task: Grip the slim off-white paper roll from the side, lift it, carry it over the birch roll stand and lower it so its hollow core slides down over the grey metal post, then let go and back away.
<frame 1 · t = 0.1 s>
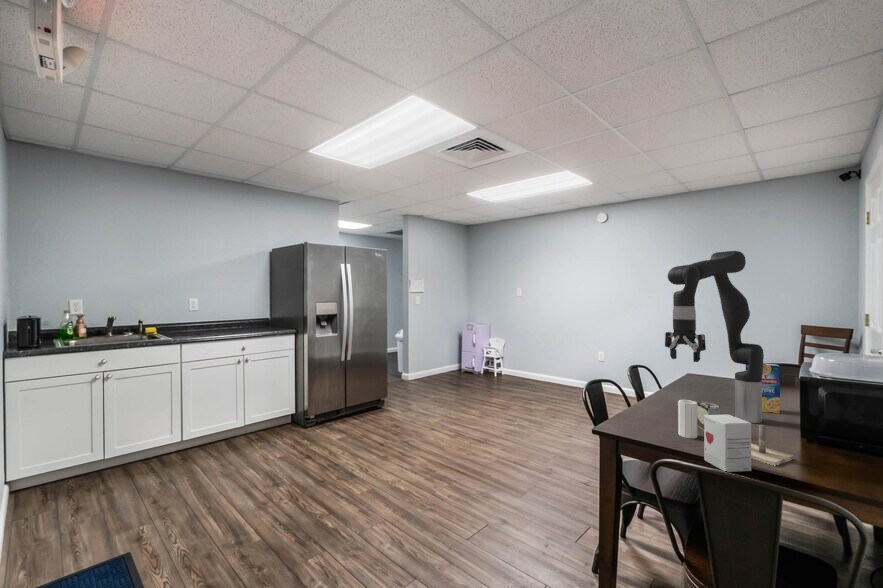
hand: (684, 360, 150), 29 cm above the table, tool pointing down, fingers open, 8 cm apart
food container: (710, 430, 157), on the table
supplement box: (727, 466, 123), on the table
stand: (762, 455, 131), on the table
roll: (687, 435, 150), on the table
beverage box: (762, 410, 184), on the table
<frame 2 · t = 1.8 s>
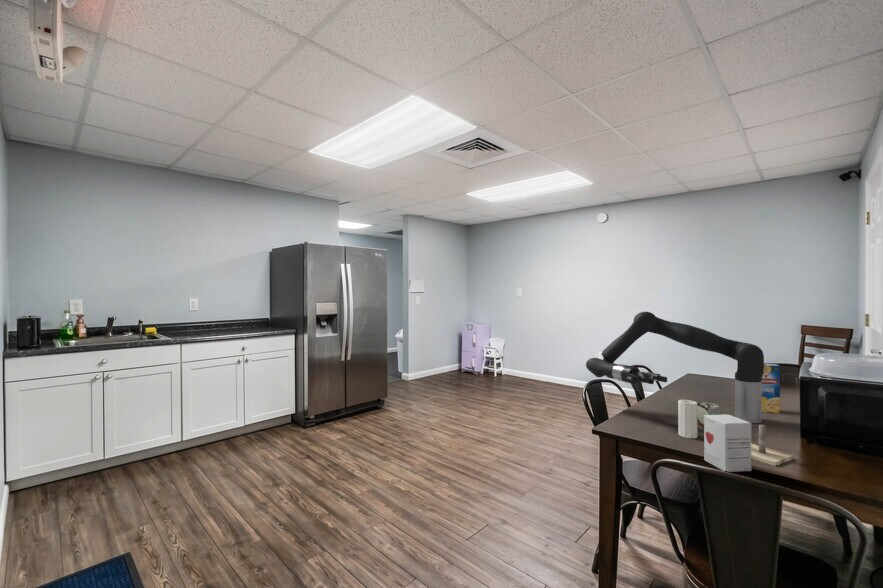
hand: (660, 380, 160), 19 cm above the table, tool horizontal, fingers open, 8 cm apart
nothing on the table moved.
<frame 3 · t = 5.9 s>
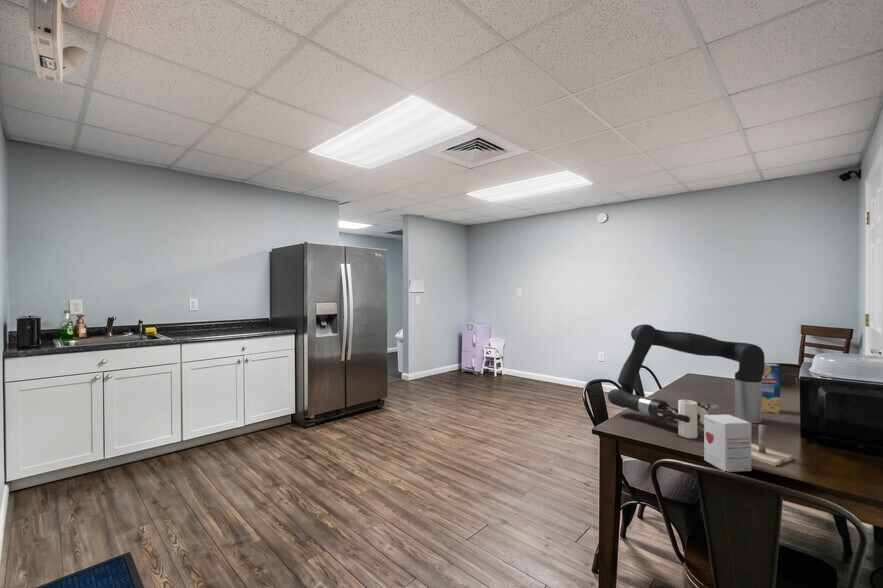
hand: (694, 418, 148), 7 cm above the table, tool horizontal, fingers closed on roll, 6 cm apart
roll: (687, 435, 150), on the table, touching gripper
everything else where it was.
when the fingers open (10 cm above the table, at t = 12.7 s): roll drops 1 cm, resting on stand.
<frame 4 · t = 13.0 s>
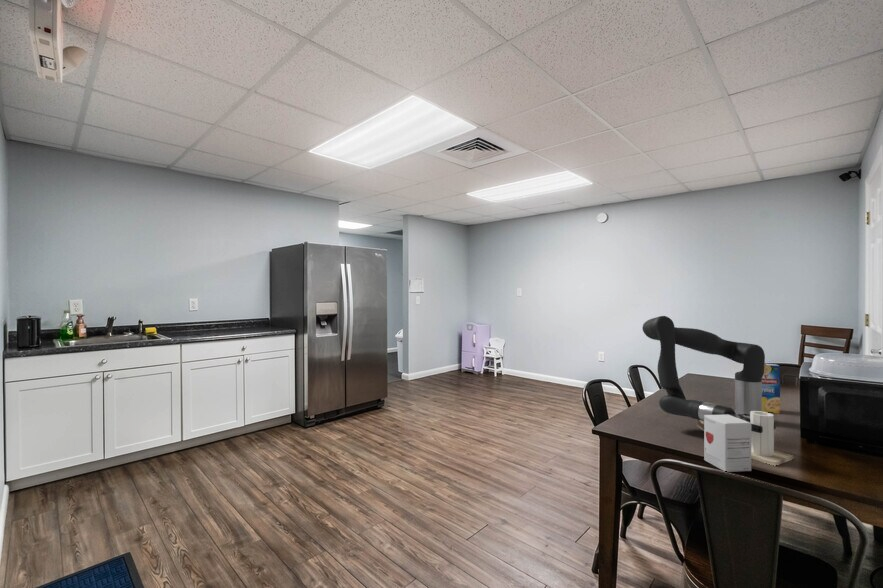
hand: (768, 428, 129), 10 cm above the table, tool horizontal, fingers open, 8 cm apart
roll: (762, 452, 131), point 1 cm above the table, touching stand
everything else where it was.
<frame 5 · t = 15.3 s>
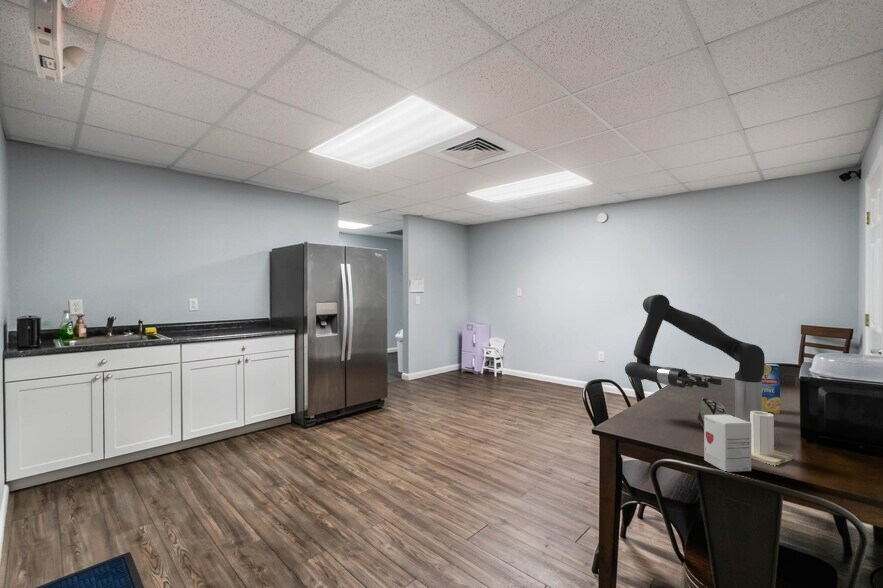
hand: (714, 383, 148), 21 cm above the table, tool horizontal, fingers open, 8 cm apart
food container: (709, 427, 157), point 1 cm above the table
everything else where it was.
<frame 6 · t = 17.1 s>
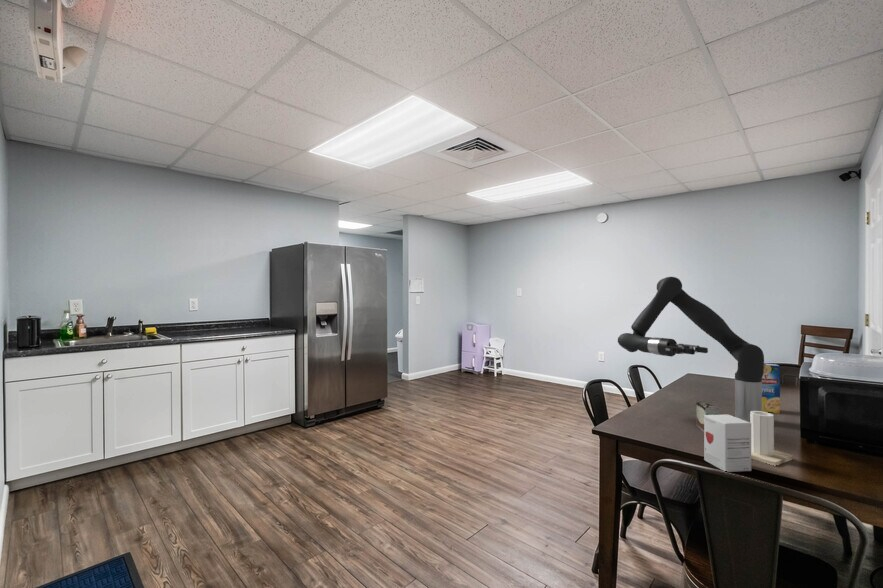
hand: (700, 351, 155), 32 cm above the table, tool horizontal, fingers open, 8 cm apart
food container: (709, 430, 157), on the table
everything else where it was.
at the end: roll 0.1 cm from the stand (horizontally); roll point 1.2 cm above the table; roll tilted 0° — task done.
